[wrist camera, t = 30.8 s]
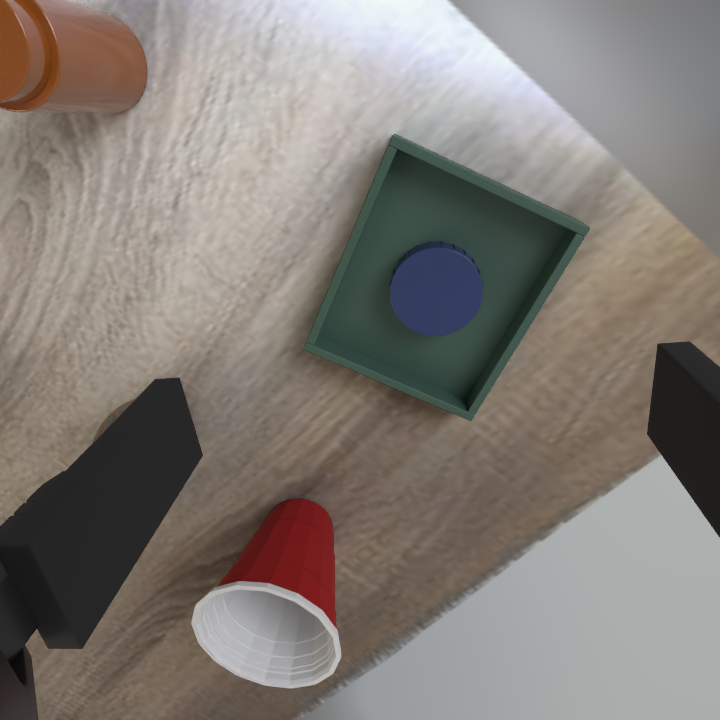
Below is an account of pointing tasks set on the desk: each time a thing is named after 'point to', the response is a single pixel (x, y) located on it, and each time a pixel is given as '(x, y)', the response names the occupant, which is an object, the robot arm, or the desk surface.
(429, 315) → the jar lid
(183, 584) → the desk surface
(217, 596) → the plastic cup
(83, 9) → the jam jar
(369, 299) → the tray
